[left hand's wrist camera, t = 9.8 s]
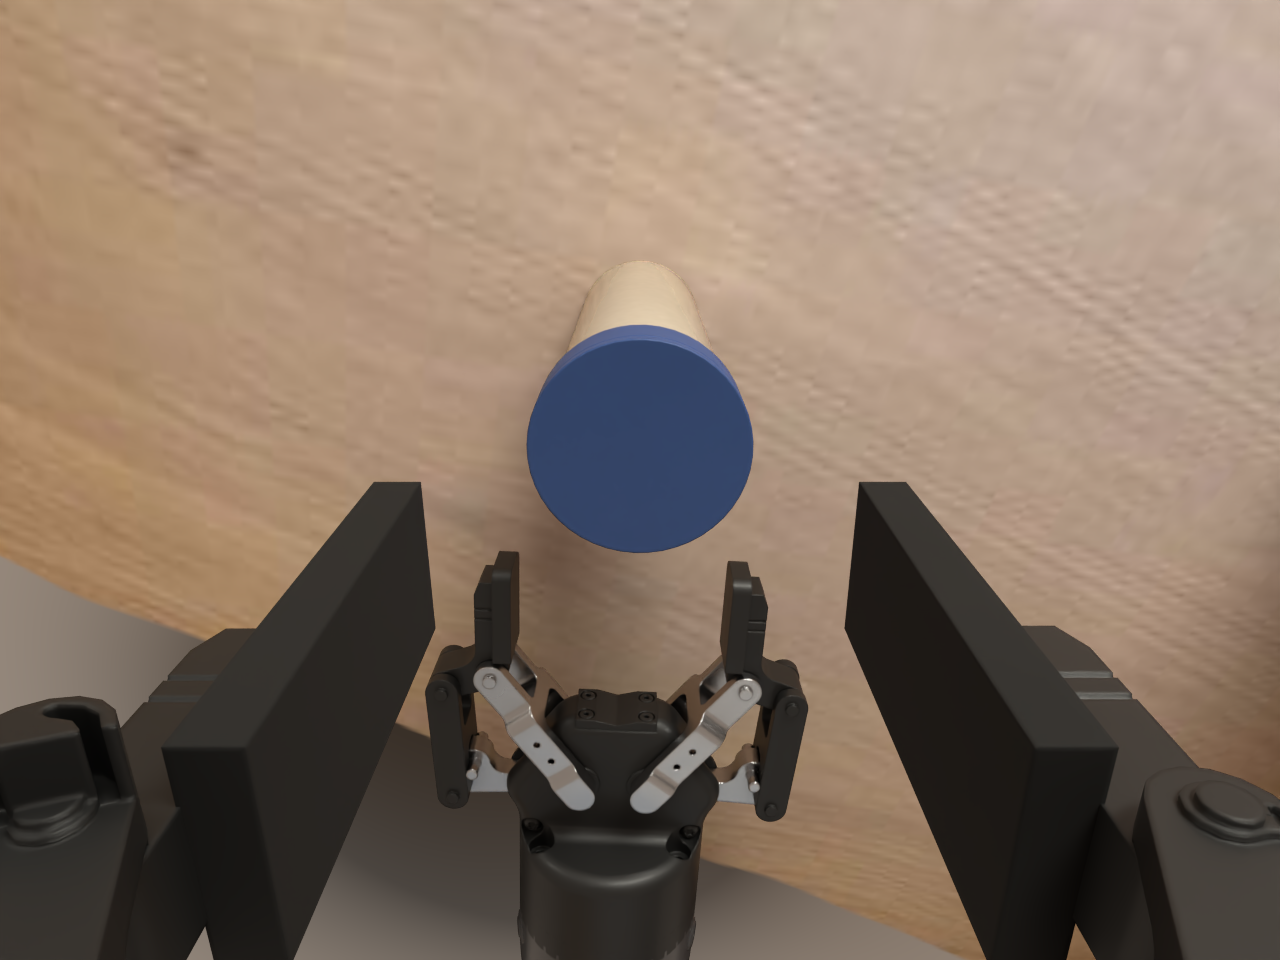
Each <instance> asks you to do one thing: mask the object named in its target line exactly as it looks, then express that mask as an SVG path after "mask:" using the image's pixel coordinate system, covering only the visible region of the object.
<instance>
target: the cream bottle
mask: <svg viewBox="0 0 1280 960" xmlns="http://www.w3.org/2000/svg"><path fill="white" fill-rule="evenodd" d="M627 325H653V326H661V327H664V328H668V329H672V330H675V331H678V332H680V333H683V334H685V335H688V336H690V337H691V338H693V339H695V340H697V341H698V342H700V343H701V344H703V345H704V346H705V347H707V348H708V349H709V350H711V351H712V352H713V350H712V347H711V344H710V341H709V339H708V336H707V333H706V330H705V328H704V325H703V322H702V319H701V317H700V314H699V311H698V308H697V306H696V303H695V300H694V298H693V295H692V293H691V291H690V289H689V288H688V286H687V285H686V283H685V282H684V281H683V280H682V279H681V278H680V277H679V276H678V275H677V274H676V273H674V272H673V271H672V270H670V269H668V268H667V267H665V266H662V265H660V264H657V263H653V262H648V261H632V262H627V263H623V264H620V265H618V266H615V267H613V268H612V269H610V270H608V271H607V272H605V273H604V274H603V275H602V276H601V277H600V278H599V279H598V280H597V281H596V282H595V283H594V285H593V286H592V288H591V289H590V291H589V293H588V295H587V298H586V300H585V303H584V306H583V309H582V311H581V314H580V317H579V320H578V322H577V325H576V328H575V331H574V333H573V336H572V339H571V341H570V344H569V347H568V350H567V352H568V351H570V350H571V349H572V348H573V347H575V346H576V345H577V344H578V343H580V342H582V341H583V340H585V339H587V338H588V337H590V336H592V335H595V334H597V333H599V332H602V331H604V330H608V329H612V328H615V327H620V326H627ZM567 352H566V353H567ZM713 353H714V352H713Z"/></svg>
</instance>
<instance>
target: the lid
mask: <svg viewBox="0 0 1280 960" xmlns="http://www.w3.org/2000/svg"><path fill="white" fill-rule="evenodd" d="M752 458H753V434H752V427H751V423H750V419H749V414H748V412H747V409H746V407H745V404H744V402H743V399H742V397H741V395H740V392H739V390H738V387H737V385H736V383H735V381H734V379H733V377H732V376H731V374H730V372H729V371H728V369H727V368H726V367H725V365H724V364H723V363H722V362H721V360H720V359H719V358H718V357H717V356H716V355H715V354H714V353H713V352H712V351H711V350H709V349H708V348H707V347H705V346H704V345H703V344H701V343H700V342H698V341H697V340H695V339H693V338H691V337H690V336H688V335H685V334H683V333H680V332H678V331H675V330H672V329H668V328H664V327H661V326H653V325H627V326H620V327H615V328H612V329H608V330H604V331H602V332H599V333H597V334H595V335H592V336H590V337H588V338H587V339H585V340H583V341H582V342H580V343H578V344H577V345H576V346H575V347H573V348H572V349H571V350H570V351H568V352H567V353H566V354H565V355H564V356H563V357H562V358H561V359H560V360H559V361H558V363H557V364H556V365H555V367H554V368H553V369H552V371H551V372H550V374H549V375H548V377H547V379H546V381H545V383H544V385H543V387H542V389H541V392H540V394H539V397H538V399H537V401H536V404H535V407H534V409H533V412H532V415H531V418H530V422H529V427H528V433H527V459H528V464H529V469H530V473H531V476H532V479H533V482H534V485H535V487H536V489H537V491H538V493H539V495H540V497H541V499H542V500H543V502H544V503H545V504H546V506H547V507H548V509H549V510H550V511H551V512H552V514H553V515H554V516H555V517H556V518H557V519H558V520H559V521H560V522H561V523H562V524H564V525H565V526H566V527H567V528H568V529H569V530H571V531H572V532H574V533H575V534H577V535H578V536H580V537H582V538H584V539H586V540H588V541H590V542H592V543H594V544H596V545H599V546H602V547H605V548H608V549H612V550H617V551H622V552H632V553H649V552H657V551H664V550H668V549H671V548H675V547H678V546H681V545H683V544H686V543H689V542H691V541H692V540H694V539H696V538H698V537H700V536H702V535H703V534H705V533H706V532H707V531H709V530H710V529H712V528H713V527H714V526H715V525H716V524H718V523H719V522H720V521H721V520H722V519H723V518H724V517H725V516H726V515H727V513H728V512H729V511H730V510H731V509H732V508H733V506H734V505H735V503H736V501H737V500H738V498H739V497H740V495H741V493H742V491H743V489H744V487H745V485H746V482H747V479H748V476H749V473H750V469H751V464H752Z"/></svg>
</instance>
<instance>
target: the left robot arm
mask: <svg viewBox="0 0 1280 960" xmlns="http://www.w3.org/2000/svg"><path fill="white" fill-rule="evenodd" d="M434 631H435V619H434V609H433V599H432V589H431V579H430V569H429V559H428V549H427V539H426V529H425V519H424V509H423V499H422V489H421V482H374V483H373V484H372V485H371V486H370V488H369V489H368V490H367V491H366V493H365V494H364V495H363V496H362V498H361V499H360V500H359V501H358V503H357V504H356V505H355V506H354V508H353V509H352V510H351V511H350V513H349V514H348V515H347V516H346V518H345V519H344V520H343V521H342V522H341V524H340V525H339V526H338V527H337V529H336V530H335V531H334V532H333V534H332V535H331V536H330V537H329V539H328V540H327V541H326V542H325V544H324V545H323V546H322V547H321V549H320V550H319V551H318V552H317V554H316V555H315V556H314V557H313V559H312V560H311V561H310V562H309V564H308V565H307V566H306V567H305V569H304V570H303V571H302V572H301V573H300V575H299V576H298V577H297V578H296V580H295V581H294V582H293V583H292V585H291V586H290V587H289V588H288V590H287V591H286V592H285V593H284V595H283V596H282V597H281V598H280V600H279V601H278V602H277V603H276V605H275V606H274V607H273V608H272V610H271V611H270V612H269V613H268V615H267V616H266V617H265V618H264V620H263V621H262V622H261V623H260V625H259V626H258V627H257V628H256V629H225V630H223V631H221V632H220V633H218V634H217V635H215V636H213V637H212V638H210V639H208V640H207V641H205V642H204V643H202V644H200V645H199V646H197V647H195V648H194V649H192V650H191V651H190V652H189V653H188V654H187V655H186V656H185V657H184V658H183V660H182V661H181V662H180V663H179V664H178V665H177V666H176V667H175V668H174V669H173V671H172V672H171V673H170V674H169V675H168V680H167V681H163V682H162V683H161V684H160V685H159V686H158V687H157V688H156V689H155V691H154V692H153V693H152V694H151V695H150V696H149V701H148V702H144V703H143V704H142V705H141V706H140V707H139V708H138V710H137V711H136V712H135V713H134V714H133V715H132V716H131V717H130V718H129V720H128V721H127V722H126V723H125V724H124V725H123V726H122V727H121V728H120V725H119V721H118V717H117V714H116V710H115V709H114V708H113V707H111V706H110V705H109V704H107V703H106V702H105V701H103V700H100V699H94V698H88V697H82V696H75V697H64V698H53V699H47V700H43V701H39V702H36V703H32V704H28V705H25V706H21V707H17V708H14V709H12V710H10V711H7V712H5V713H3V714H1V715H0V960H186V959H187V958H188V956H189V954H190V952H191V951H192V949H193V947H194V945H195V943H196V942H197V940H198V938H199V936H200V935H201V933H202V931H203V929H204V927H206V931H207V935H208V939H209V943H210V947H211V951H212V955H213V959H214V960H293V959H294V957H295V955H296V952H297V950H298V948H299V945H300V943H301V941H302V938H303V936H304V934H305V931H306V929H307V927H308V924H309V922H310V920H311V917H312V915H313V913H314V910H315V908H316V906H317V903H318V901H319V899H320V896H321V894H322V892H323V889H324V887H325V885H326V882H327V880H328V878H329V875H330V873H331V871H332V868H333V866H334V864H335V861H336V859H337V857H338V854H339V852H340V850H341V848H342V845H343V843H344V841H345V838H346V836H347V833H348V831H349V829H350V827H351V824H352V822H353V819H354V817H355V815H356V813H357V810H358V808H359V806H360V803H361V801H362V798H363V796H364V794H365V792H366V789H367V787H368V785H369V782H370V780H371V777H372V775H373V773H374V771H375V768H376V766H377V764H378V761H379V759H380V756H381V754H382V752H383V750H384V747H385V745H386V743H387V740H388V738H389V735H390V733H391V731H392V728H393V726H394V724H395V722H396V719H397V717H398V715H399V712H400V710H401V708H402V705H403V703H404V701H405V698H406V696H407V694H408V691H409V689H410V687H411V684H412V682H413V680H414V677H415V675H416V673H417V670H418V668H419V666H420V663H421V661H422V659H423V656H424V654H425V652H426V649H427V647H428V645H429V642H430V640H431V638H432V635H433V633H434ZM845 631H846V633H847V635H848V638H849V640H850V642H851V645H852V647H853V649H854V652H855V654H856V656H857V659H858V661H859V663H860V666H861V668H862V670H863V673H864V675H865V677H866V680H867V682H868V684H869V687H870V689H871V691H872V694H873V696H874V698H875V701H876V703H877V705H878V708H879V710H880V712H881V715H882V717H883V719H884V722H885V724H886V726H887V729H888V731H889V733H890V736H891V738H892V740H893V743H894V745H895V747H896V750H897V752H898V754H899V757H900V759H901V761H902V764H903V766H904V768H905V771H906V773H907V775H908V778H909V780H910V782H911V785H912V787H913V789H914V792H915V794H916V796H917V799H918V801H919V803H920V806H921V808H922V810H923V813H924V815H925V817H926V820H927V822H928V824H929V827H930V829H931V831H932V834H933V836H934V838H935V841H936V843H937V845H938V848H939V850H940V852H941V855H942V857H943V859H944V862H945V864H946V866H947V869H948V871H949V873H950V875H951V878H952V880H953V882H954V885H955V887H956V889H957V892H958V894H959V896H960V899H961V901H962V903H963V906H964V908H965V910H966V913H967V915H968V917H969V920H970V922H971V924H972V927H973V929H974V931H975V934H976V936H977V938H978V941H979V943H980V945H981V948H982V950H983V952H984V955H985V957H986V959H987V960H1066V959H1067V955H1068V951H1069V947H1070V943H1071V939H1072V935H1073V931H1074V927H1075V923H1076V925H1077V927H1078V928H1079V930H1080V932H1081V934H1082V935H1083V937H1084V939H1085V941H1086V942H1087V944H1088V946H1089V948H1090V950H1091V951H1092V953H1093V955H1094V957H1095V958H1096V960H1280V800H1279V799H1278V798H1276V797H1275V796H1274V795H1273V794H1271V793H1269V792H1267V791H1265V790H1263V789H1261V788H1259V787H1257V786H1255V785H1253V784H1251V783H1249V782H1247V781H1245V780H1243V779H1241V778H1237V777H1234V776H1231V775H1227V774H1224V773H1221V772H1218V771H1214V770H1211V769H1204V768H1199V767H1198V766H1197V765H1196V764H1195V763H1194V762H1193V761H1192V760H1191V758H1190V757H1189V756H1188V755H1187V754H1186V753H1185V752H1184V751H1183V750H1182V749H1181V747H1180V746H1179V745H1178V744H1177V743H1176V742H1175V741H1174V740H1173V739H1172V738H1171V736H1170V735H1169V734H1168V733H1167V732H1166V731H1165V730H1164V729H1163V728H1162V726H1161V725H1160V724H1159V723H1158V722H1157V721H1156V720H1155V719H1154V718H1153V717H1152V715H1151V714H1150V713H1149V712H1148V711H1147V710H1146V709H1145V708H1144V707H1143V706H1142V704H1141V703H1140V702H1139V701H1138V700H1137V699H1132V693H1131V692H1130V691H1129V690H1128V689H1127V688H1126V687H1125V686H1124V685H1123V683H1122V682H1121V681H1120V680H1119V679H1118V678H1113V672H1112V671H1111V670H1110V669H1109V668H1108V667H1107V666H1106V665H1105V664H1104V662H1103V661H1102V660H1101V659H1100V658H1099V657H1098V656H1097V655H1096V654H1095V653H1094V651H1093V650H1092V649H1091V648H1090V647H1088V646H1087V645H1085V644H1083V643H1082V642H1080V641H1078V640H1077V639H1075V638H1074V637H1072V636H1070V635H1069V634H1067V633H1065V632H1064V631H1062V630H1060V629H1059V628H1057V627H1055V626H1021V625H1020V623H1019V622H1018V621H1017V620H1016V618H1015V617H1014V616H1013V615H1012V613H1011V612H1010V611H1009V610H1008V608H1007V607H1006V606H1005V605H1004V603H1003V602H1002V601H1001V600H1000V598H999V597H998V596H997V595H996V593H995V592H994V591H993V590H992V588H991V587H990V586H989V585H988V583H987V582H986V581H985V580H984V578H983V577H982V576H981V575H980V573H979V572H978V571H977V570H976V569H975V567H974V566H973V565H972V564H971V562H970V561H969V560H968V559H967V557H966V556H965V555H964V554H963V552H962V551H961V550H960V549H959V547H958V546H957V545H956V544H955V542H954V541H953V540H952V539H951V537H950V536H949V535H948V534H947V532H946V531H945V530H944V529H943V527H942V526H941V525H940V524H939V522H938V521H937V520H936V519H935V518H934V516H933V515H932V514H931V513H930V511H929V510H928V509H927V508H926V506H925V505H924V504H923V503H922V501H921V500H920V499H919V498H918V496H917V495H916V494H915V493H914V491H913V490H912V489H911V488H910V486H909V485H908V484H907V483H906V482H859V489H858V499H857V509H856V519H855V529H854V539H853V549H852V559H851V569H850V579H849V589H848V599H847V609H846V619H845Z"/></svg>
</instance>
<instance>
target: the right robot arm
mask: <svg viewBox="0 0 1280 960" xmlns="http://www.w3.org/2000/svg"><path fill="white" fill-rule="evenodd" d="M767 612H768V606H767V602H766V598H765V595H764V591H763V587H762V584H761V581H760V578H759V577H751V575H750V571H749V567H748V563H747V562H739V561H728V564H727V573H726V583H725V593H724V604H723V614H722V624H721V635H720V646H721V652H722V655H721V656H720V657H719V658H718V659H717V660H716V661H714V662H713V663H712V664H711V665H710V666H709V667H708V668H707V669H706V670H705V671H704V672H703V673H702V674H701V675H697V674H695V675H693V676H691V677H690V678H689V679H688V680H687V681H686V682H685V683H684V684H683V685H682V686H681V687H680V688H679V689H678V690H677V691H676V692H675V693H674V694H673V695H672V696H671V697H670V698H669V699H668V700H667V701H666V702H665V701H663V700H661V699H658V698H657V694H656V692H639V691H637V692H631V693H626V694H620V695H616V694H612V693H609V692H605V691H601V690H595V689H579V694H578V695H574V696H571V697H569V696H568V695H567V694H566V693H565V692H564V690H563V689H562V688H561V687H560V686H559V685H558V683H557V682H556V681H555V680H554V679H553V677H552V676H551V675H550V674H549V673H548V672H547V670H546V669H544V668H542V667H540V668H537V667H536V666H535V665H534V664H533V663H532V661H531V660H530V659H529V658H528V657H527V656H526V654H525V653H524V652H523V651H522V650H521V649H520V647H519V646H518V645H517V640H518V636H519V552H510V551H499V553H498V556H497V559H496V562H495V564H494V565H486V566H485V569H484V571H483V573H482V575H481V578H480V580H479V583H478V586H477V588H476V591H475V593H474V618H475V644H474V645H472V646H469V647H465V648H463V647H461V646H458V645H450V646H447V647H445V648H444V649H443V650H442V651H441V653H440V656H439V658H438V661H437V663H436V665H435V668H434V670H433V673H432V675H431V678H430V680H429V683H428V685H427V688H426V691H425V696H426V704H427V712H428V720H429V728H430V737H431V745H432V753H433V761H434V769H435V777H436V786H437V794H438V799H439V801H440V802H441V803H442V804H443V805H444V806H446V807H448V808H460V807H463V806H464V805H465V804H466V803H467V801H468V798H469V795H470V792H508V793H509V795H510V797H511V798H512V799H513V801H514V802H515V804H516V806H517V808H518V810H519V814H520V910H519V915H518V918H517V922H518V934H519V937H520V945H521V957H522V960H689V956H690V950H691V946H692V944H693V940H694V934H695V928H696V921H695V917H694V910H695V901H696V890H697V880H698V870H699V859H700V849H701V839H702V828H703V822H704V819H705V817H706V815H707V814H708V812H709V811H710V810H711V809H712V807H713V806H714V805H715V803H716V802H717V801H722V802H733V803H744V804H754V805H755V810H756V814H757V816H758V817H759V818H760V819H762V820H764V821H768V822H773V821H777V820H779V819H781V818H782V817H783V816H784V815H785V813H786V809H787V804H788V800H789V795H790V790H791V786H792V781H793V777H794V772H795V768H796V763H797V758H798V754H799V749H800V745H801V740H802V736H803V731H804V726H805V722H806V717H807V713H808V704H807V701H806V698H805V695H804V694H803V692H802V688H801V685H800V681H799V674H798V670H797V667H796V665H795V664H794V663H793V662H791V661H789V660H783V659H782V660H777V661H775V662H774V661H771V660H768V659H766V658H765V657H763V656H762V655H763V646H764V638H765V629H766V621H767ZM475 692H480V693H481V694H482V696H483V697H484V698H485V699H486V700H487V701H488V702H489V703H490V705H491V706H492V707H493V708H494V709H495V710H496V711H497V712H498V714H499V715H500V716H501V717H502V718H503V720H504V722H505V727H506V730H507V733H508V735H509V736H510V738H511V739H512V740H513V741H514V742H515V743H516V744H517V746H518V748H517V750H516V751H515V752H514V754H513V756H512V758H511V759H509V758H504V757H502V756H500V755H499V754H498V753H497V752H496V751H495V749H494V745H493V743H492V742H491V740H489V739H488V734H487V733H485V732H478V733H477V724H476V713H475V703H474V693H475ZM755 704H758V705H761V707H760V712H759V717H758V722H757V728H756V733H755V738H754V743H753V745H752V744H744V745H743V746H742V750H741V751H739V752H738V753H737V755H736V757H735V760H734V761H733V763H732V764H730V765H729V766H727V767H723V768H717V766H716V763H715V761H714V759H713V758H712V757H711V755H712V754H713V753H714V752H715V751H716V750H717V749H718V748H719V747H720V746H721V745H722V743H723V741H724V739H725V737H726V733H727V731H728V730H729V728H730V727H731V726H732V725H733V724H734V723H735V722H737V721H738V720H739V719H740V718H741V717H742V716H743V715H744V714H745V713H746V712H747V711H748V710H749V709H750V708H751V707H753V706H754V705H755Z"/></svg>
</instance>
